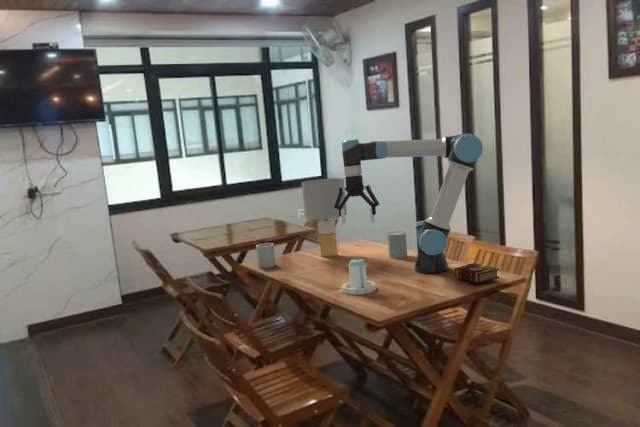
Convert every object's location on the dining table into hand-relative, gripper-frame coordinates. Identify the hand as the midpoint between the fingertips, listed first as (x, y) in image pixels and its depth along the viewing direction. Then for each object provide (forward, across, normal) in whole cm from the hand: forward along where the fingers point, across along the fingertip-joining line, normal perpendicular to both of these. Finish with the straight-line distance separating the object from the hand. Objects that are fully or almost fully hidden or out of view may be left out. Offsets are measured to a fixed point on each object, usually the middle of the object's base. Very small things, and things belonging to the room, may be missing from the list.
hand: (358, 223), depth 246 cm
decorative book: (+27, -48, -6) cm, 55 cm away
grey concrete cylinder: (+26, -5, -45) cm, 52 cm away
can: (+25, -3, +16) cm, 30 cm away
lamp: (+26, +33, -44) cm, 61 cm away
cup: (+25, +59, -20) cm, 68 cm away
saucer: (+26, -3, +16) cm, 31 cm away
